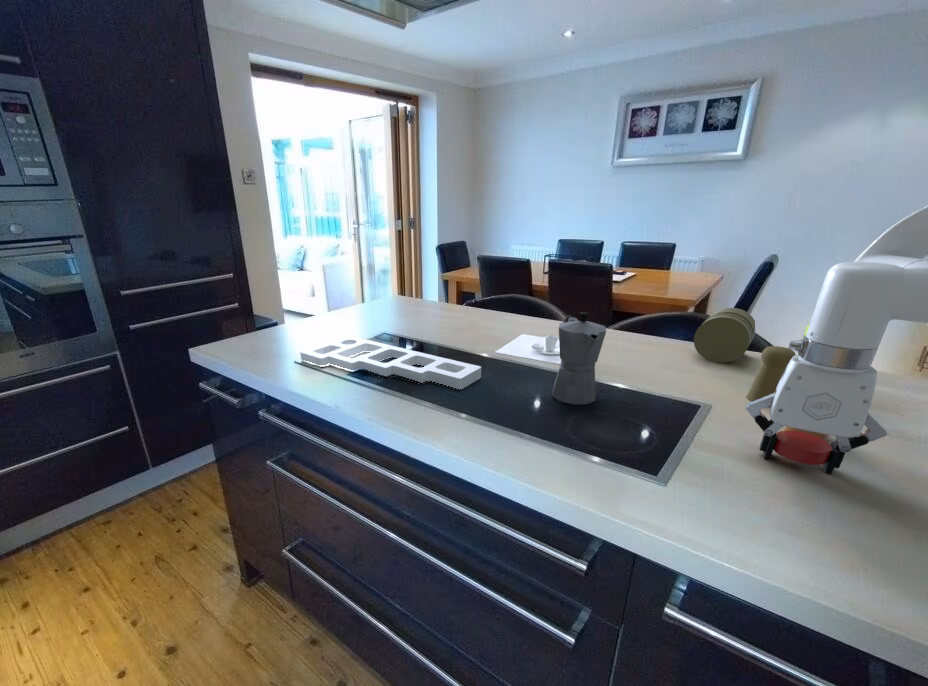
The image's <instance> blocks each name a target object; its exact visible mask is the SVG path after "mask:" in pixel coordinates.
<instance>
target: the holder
mask: <svg viewBox="0 0 928 686" xmlns="http://www.w3.org/2000/svg"><path fill="white" fill-rule="evenodd" d="M362 351H372V352H370V353H363V354H361V355H358V356H356V357H352V358H348V357H349V356H351V355H355V354H357V353H360V352H362ZM299 353H300V360H301V359H302V360H305V361H309V362H312V363H315V364H318V365H326V364H328V363H330V364H333V365H337V366H340V367H343V368H347V369H350V370H356V369H359V368H361V369H365V370H368V371H371V372H374V373H378V374H380V375H384V376H388V375H391V374H396V375H399V376H403V377H406V378H409V379H412V380H415V381H418V382H421V383H423V382H425V381H427V382H430V381H432V382H431V383H433V382H436V383H435V384H437V383H439V384H438V385H440V384H443V385H442V386H444V385H446V386H445V387H448V386H450V387H449V388H451V387H453V388H452V389H455V388H456V389H455V390H458V389H459V391H460V389H461V390H463V389H464V388H467V387H468V386H470V385H472V384H473V383H475V382H476V381H478V380H480V379H481V378H482V366H480V365H476V364H471V363H468V362H464V361H458V360H454V359H451V358H446V357H442V356H437V355H433V354H430V353H425V352H421V351H416V350H411V349H407V348H404V347H399V346H395V345H391V344H387V343H384V342H383V343H382V342H378V341H374V340H371V339H365V338H361V337H357V336H354V335H353V336H352V335H347V336H345V337H342V338H338V339H335V340H332V341H330V342H329V341H328V342H325V343H323V344H320V345H317V346H314V347H311V348H308V349H304V350H302V351H299ZM388 357H394V358H397V359H391V360H390V361H388V362H379V361H380V360H383V359H386V358H388ZM415 364H417V366H412V365H415ZM418 365H421V366H420V367H418ZM422 366H424V367H422ZM425 383H426V382H425ZM423 384H424V383H423Z"/></svg>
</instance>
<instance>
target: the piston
mask: <svg viewBox="0 0 928 686" xmlns="http://www.w3.org/2000/svg"><path fill="white" fill-rule="evenodd" d="M755 334H756V320H755V319H754V317H753V316H752V315H751V314H750V313H749V312H748V311H746V310H744V309H742V308H737V307H725V308H721V309H719V310H716V311H715V312H713V313H712V314H710V315H709V317H707V319H705V320H704V321H703V322H702V323H701V324H700V325H699V327H698V328H697V329H696V331H695V332H694V336H693V344H694V349H695V350H696V352H697V354H699V356H700V357H702V358H703V359H705V360H707V361H709V362H712V361H713V363H717V362H719V364H724V363H730V362H733V361H736V360H738V359H739V358H741V357H742V356H743V355H744V354H746V352H747V350H748V349H749V347H750V345H751V343H752V341H753V340H754V337H755Z"/></svg>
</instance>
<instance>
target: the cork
mask: <svg viewBox="0 0 928 686" xmlns="http://www.w3.org/2000/svg"><path fill="white" fill-rule="evenodd" d="M788 348H789V347H785V346H780V345H779V346H778V345H771V346H767V347H766V348H764V349H763V350H762V352H761V355H760V359H761V361H762V363H761V365H760V366H759V369H758V371H757V373H756V375H755V378H754V380H753V382H752V383H751V386H750V388H749V389H748V392H747V394H746V396H745V397H746V399H747V400H748V401H750V402H753V401H755V400H758V399H760V398H763V397H765V396H768V395H770V394H773V393H775V390H776V388H777V386H778V383H779V381H780V379H781V377H782V375H783V373H784V371H785V369H786V367H787V365H788V364H789V362H790V360H791V359H792V358H793V356H795V355H797V354H796V351H795V350H791V349H788Z"/></svg>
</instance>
